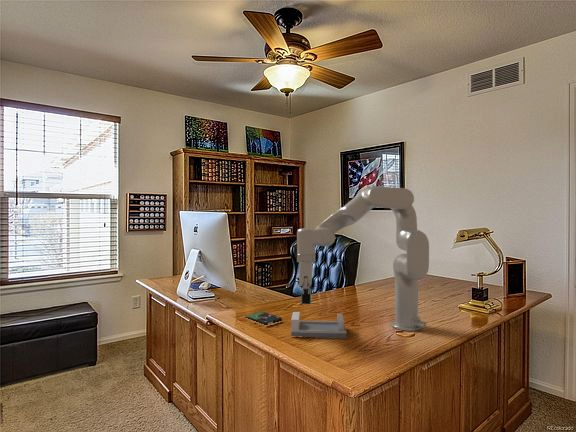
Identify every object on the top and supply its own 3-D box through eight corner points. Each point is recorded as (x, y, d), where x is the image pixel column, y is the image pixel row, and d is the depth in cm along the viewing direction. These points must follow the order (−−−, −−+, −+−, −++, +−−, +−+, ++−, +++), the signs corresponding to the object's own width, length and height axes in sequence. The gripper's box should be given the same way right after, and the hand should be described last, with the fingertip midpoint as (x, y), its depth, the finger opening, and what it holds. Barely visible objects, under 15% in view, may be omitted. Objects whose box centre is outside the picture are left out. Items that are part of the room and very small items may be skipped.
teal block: (311, 301, 153) (310, 288, 153) (310, 304, 148) (310, 290, 148) (301, 300, 153) (301, 287, 153) (301, 304, 148) (301, 290, 148)
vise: (344, 328, 155) (344, 312, 155) (346, 338, 143) (346, 320, 143) (293, 327, 157) (292, 311, 157) (291, 337, 145) (291, 320, 145)
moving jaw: (341, 324, 154) (341, 313, 154) (343, 332, 144) (343, 320, 144) (337, 324, 155) (337, 313, 154) (338, 332, 145) (338, 320, 145)
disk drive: (282, 323, 165) (261, 316, 175) (282, 317, 165) (261, 310, 175) (265, 329, 157) (244, 321, 168) (265, 322, 157) (244, 315, 168)
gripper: (298, 255, 159) (298, 296, 159) (295, 261, 142) (296, 307, 142) (315, 255, 158) (315, 296, 159) (315, 261, 141) (315, 307, 142)
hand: (306, 301), depth 150 cm, fingers closed on teal block, 5 cm apart
